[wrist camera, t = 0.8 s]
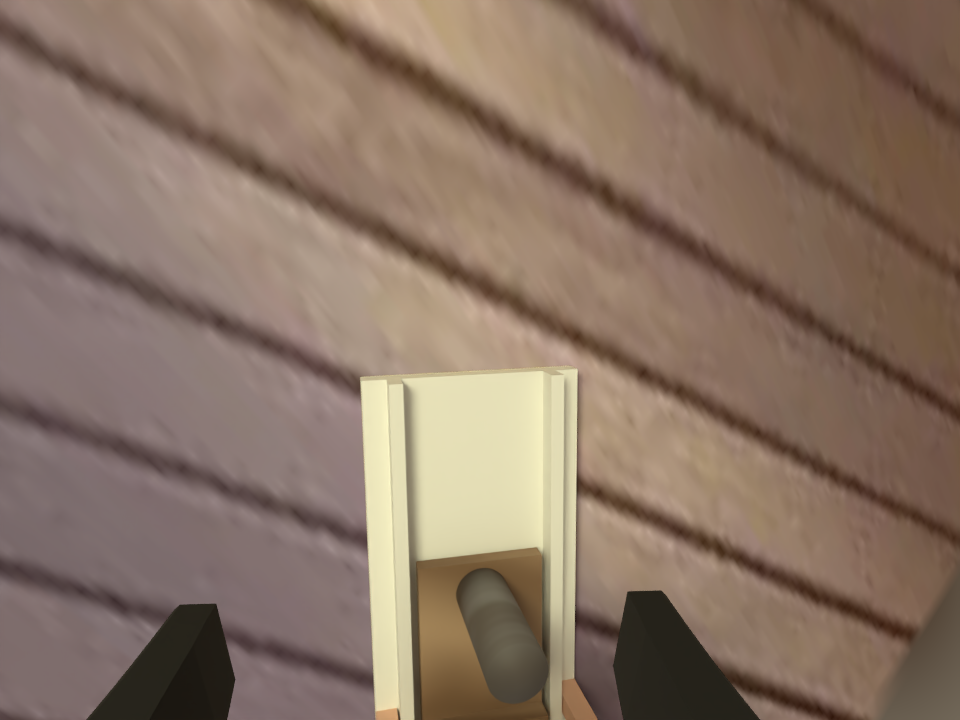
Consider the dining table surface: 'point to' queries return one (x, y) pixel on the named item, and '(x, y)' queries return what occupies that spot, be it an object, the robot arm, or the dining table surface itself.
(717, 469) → the dining table surface
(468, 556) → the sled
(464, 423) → the track
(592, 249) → the dining table surface
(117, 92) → the dining table surface
